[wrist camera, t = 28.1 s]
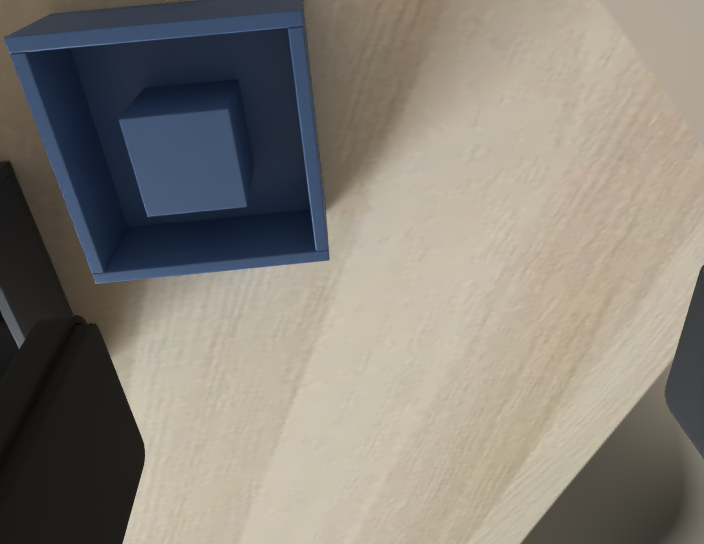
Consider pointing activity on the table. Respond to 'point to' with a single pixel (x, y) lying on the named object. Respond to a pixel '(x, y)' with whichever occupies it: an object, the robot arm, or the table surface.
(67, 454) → the robot arm
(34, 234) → the charcoal bin
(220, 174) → the blue block
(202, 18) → the blue bin
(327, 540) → the table surface
